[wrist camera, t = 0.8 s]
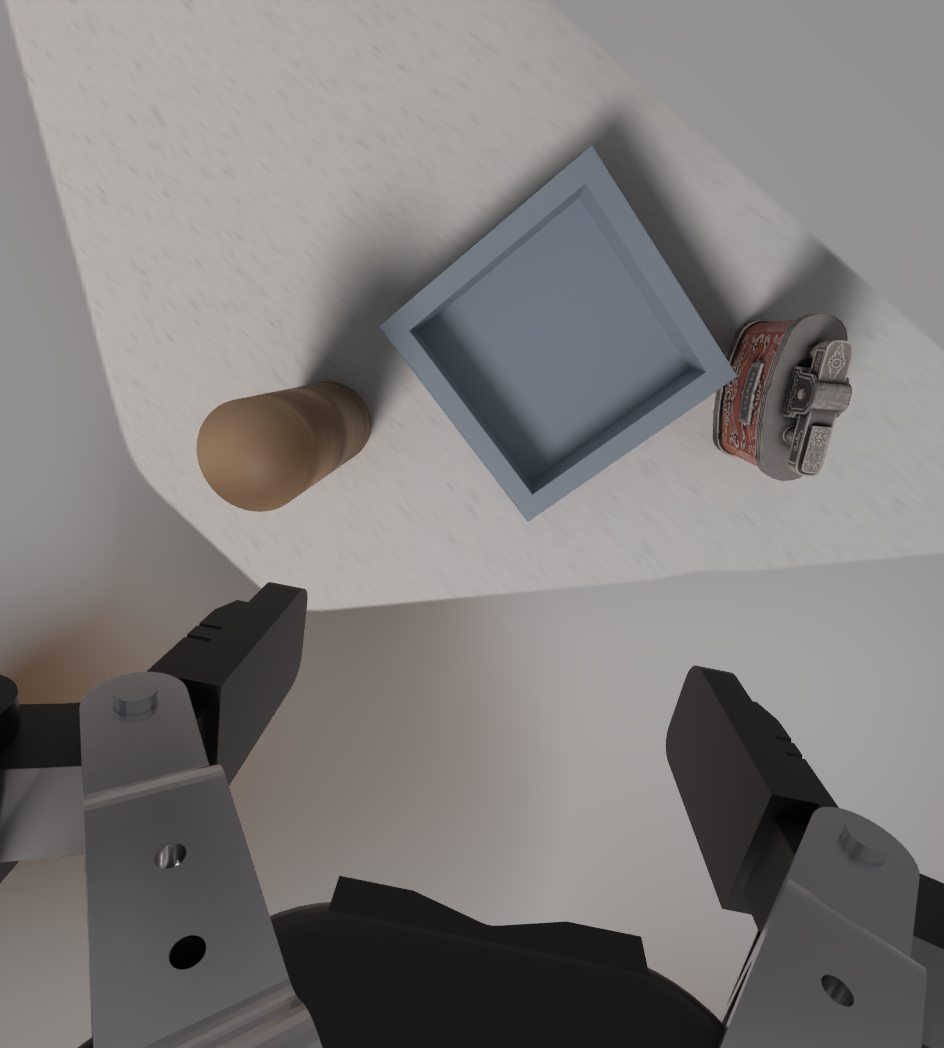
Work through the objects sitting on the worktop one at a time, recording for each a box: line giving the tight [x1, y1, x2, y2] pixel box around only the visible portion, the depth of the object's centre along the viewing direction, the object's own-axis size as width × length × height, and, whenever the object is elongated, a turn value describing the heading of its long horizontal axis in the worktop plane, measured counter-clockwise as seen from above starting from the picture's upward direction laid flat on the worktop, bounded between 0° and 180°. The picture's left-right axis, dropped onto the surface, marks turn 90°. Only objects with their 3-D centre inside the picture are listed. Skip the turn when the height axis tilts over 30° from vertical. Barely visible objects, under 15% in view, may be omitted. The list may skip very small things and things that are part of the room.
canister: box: [197, 382, 371, 511], centre depth 32 cm, size 5×5×12 cm
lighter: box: [713, 314, 854, 481], centre depth 31 cm, size 8×3×10 cm, turn 175°
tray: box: [379, 145, 737, 521], centre depth 34 cm, size 14×14×4 cm
